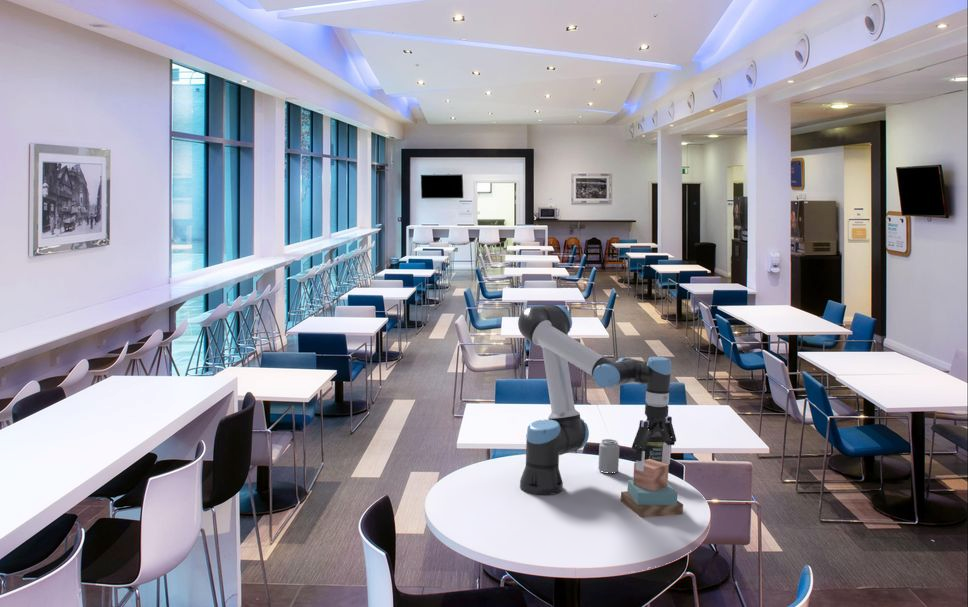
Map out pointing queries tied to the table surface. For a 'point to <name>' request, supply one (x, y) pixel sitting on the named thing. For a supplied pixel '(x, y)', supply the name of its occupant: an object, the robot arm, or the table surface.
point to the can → (608, 456)
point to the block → (651, 475)
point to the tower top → (652, 495)
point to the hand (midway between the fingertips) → (652, 466)
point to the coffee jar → (654, 447)
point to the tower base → (651, 507)
